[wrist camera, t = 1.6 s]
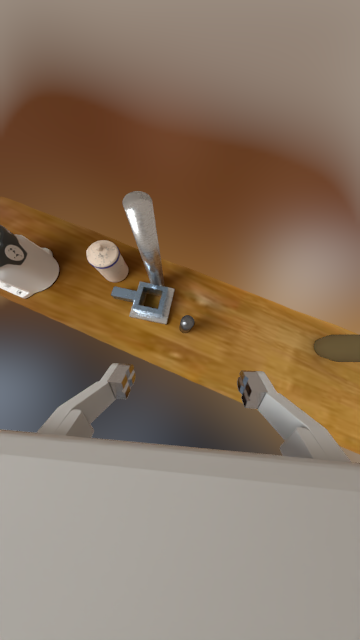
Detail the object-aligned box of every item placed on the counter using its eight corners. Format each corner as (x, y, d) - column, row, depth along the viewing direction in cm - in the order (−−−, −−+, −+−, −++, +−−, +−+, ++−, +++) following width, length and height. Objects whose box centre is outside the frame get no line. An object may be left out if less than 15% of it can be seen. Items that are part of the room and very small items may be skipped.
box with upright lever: (112, 313, 42) (17, 259, 17) (126, 272, 45) (64, 175, 20) (166, 324, 42) (154, 288, 16) (176, 282, 45) (179, 199, 20)
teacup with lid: (134, 266, 46) (120, 239, 35) (121, 287, 44) (102, 266, 33) (104, 253, 47) (82, 222, 35) (90, 273, 45) (62, 248, 33)
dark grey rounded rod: (178, 331, 42) (179, 326, 32) (180, 321, 42) (182, 314, 33) (188, 334, 42) (193, 329, 32) (190, 324, 42) (195, 316, 32)
